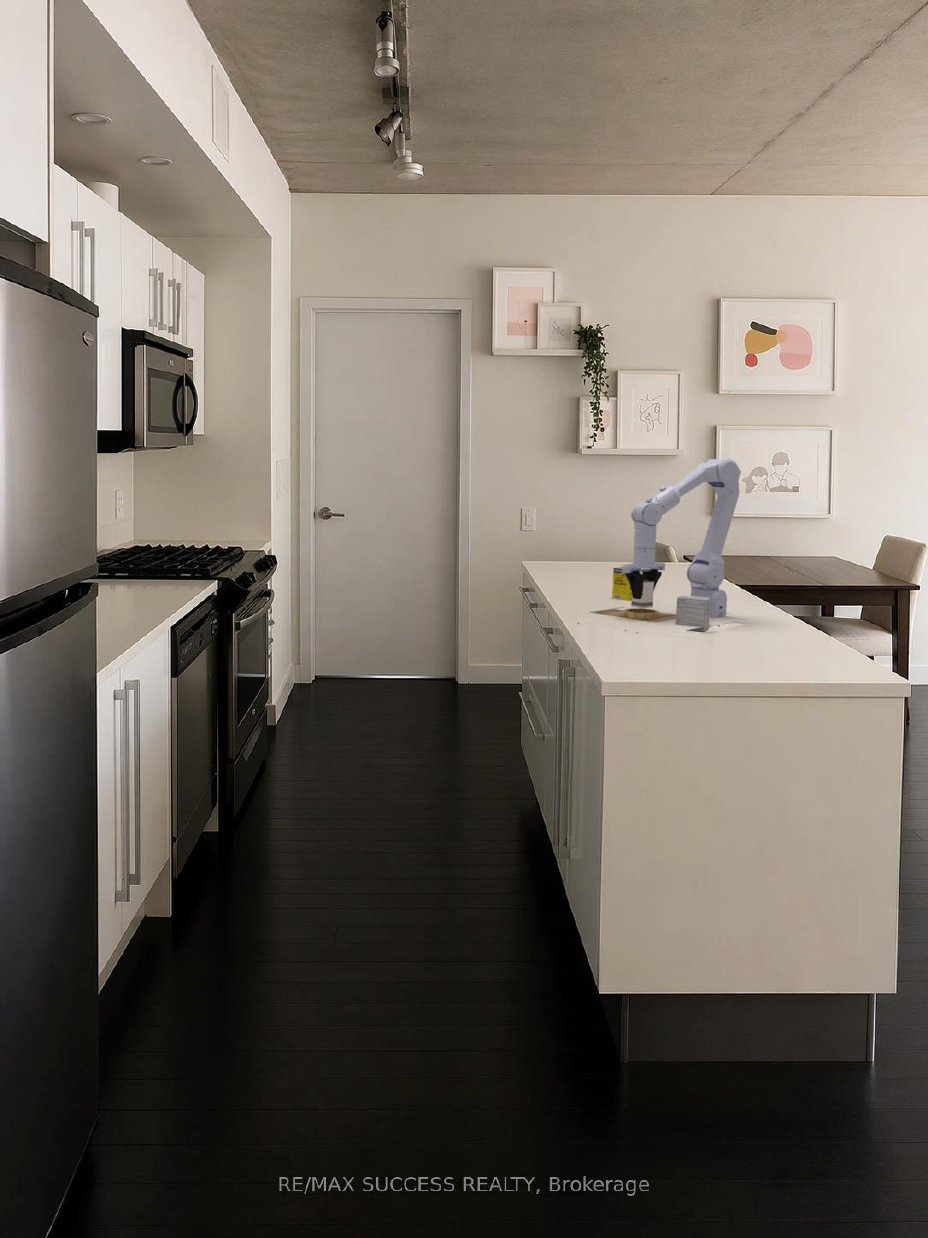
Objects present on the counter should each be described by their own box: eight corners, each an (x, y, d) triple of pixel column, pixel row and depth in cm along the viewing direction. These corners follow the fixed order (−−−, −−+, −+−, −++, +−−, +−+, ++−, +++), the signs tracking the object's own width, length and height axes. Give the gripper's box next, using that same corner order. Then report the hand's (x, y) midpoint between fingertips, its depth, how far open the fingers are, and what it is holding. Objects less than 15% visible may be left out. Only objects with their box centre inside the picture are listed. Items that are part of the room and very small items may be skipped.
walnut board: (688, 621, 309) (689, 616, 309) (655, 627, 298) (655, 622, 298) (622, 612, 324) (622, 606, 324) (588, 617, 313) (588, 612, 312)
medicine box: (709, 630, 296) (711, 597, 295) (705, 632, 292) (707, 599, 291) (679, 627, 300) (681, 595, 298) (674, 630, 296) (676, 597, 294)
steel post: (641, 605, 309) (643, 578, 308) (652, 607, 306) (654, 579, 305) (631, 606, 307) (632, 578, 305) (642, 608, 303) (643, 580, 302)
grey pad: (649, 611, 317) (649, 609, 317) (635, 613, 312) (635, 612, 312) (629, 608, 322) (629, 606, 322) (614, 610, 317) (614, 609, 317)
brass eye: (665, 617, 307) (665, 611, 307) (645, 620, 300) (646, 614, 300) (637, 613, 313) (637, 607, 313) (617, 616, 306) (617, 610, 306)
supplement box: (628, 605, 338) (630, 569, 336) (611, 603, 341) (612, 567, 340) (638, 603, 342) (640, 567, 341) (621, 601, 346) (622, 565, 344)
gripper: (636, 550, 296) (634, 601, 298) (674, 548, 305) (671, 598, 307) (617, 547, 302) (615, 598, 304) (655, 545, 310) (652, 595, 313)
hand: (642, 598), depth 306 cm, fingers closed on steel post, 4 cm apart
